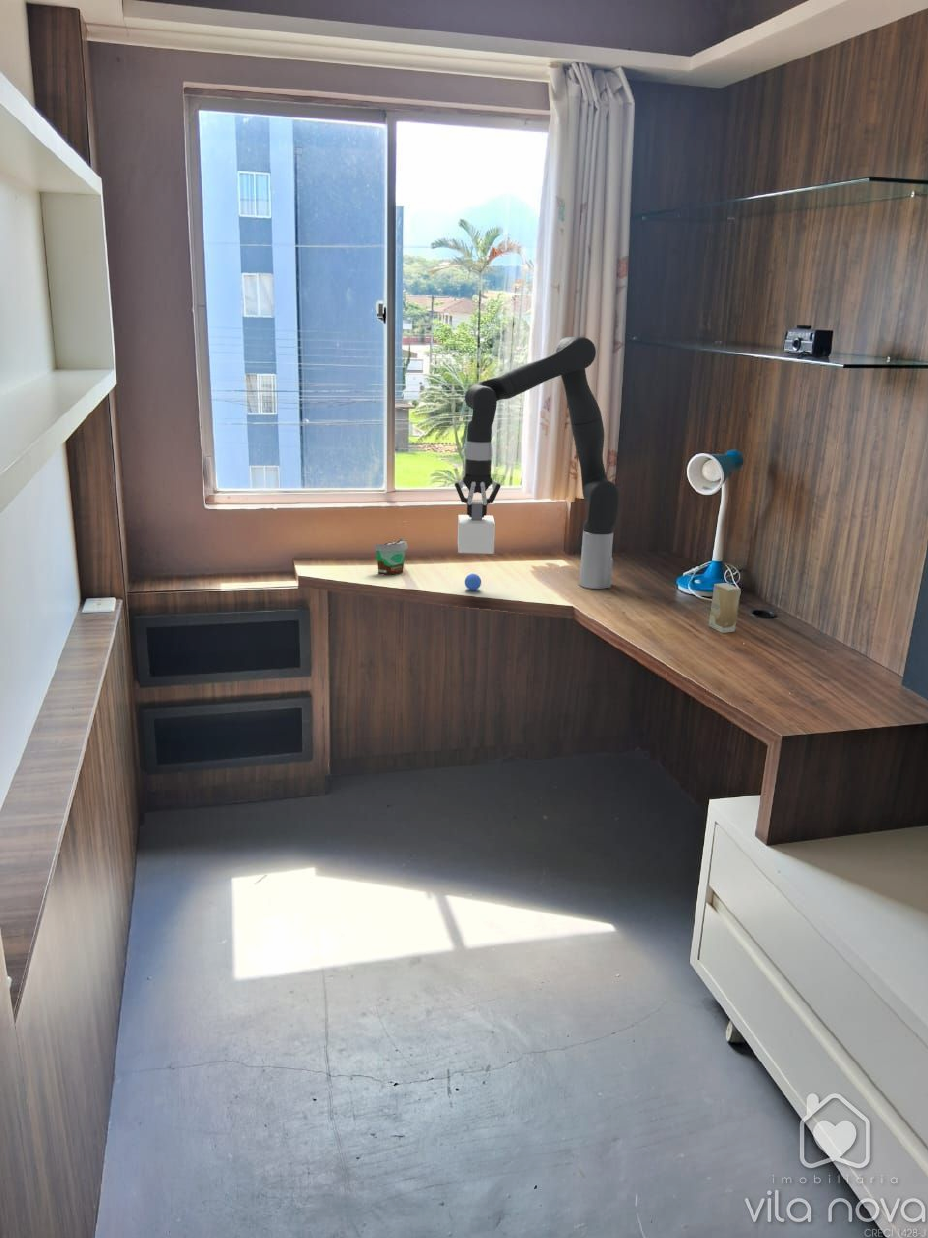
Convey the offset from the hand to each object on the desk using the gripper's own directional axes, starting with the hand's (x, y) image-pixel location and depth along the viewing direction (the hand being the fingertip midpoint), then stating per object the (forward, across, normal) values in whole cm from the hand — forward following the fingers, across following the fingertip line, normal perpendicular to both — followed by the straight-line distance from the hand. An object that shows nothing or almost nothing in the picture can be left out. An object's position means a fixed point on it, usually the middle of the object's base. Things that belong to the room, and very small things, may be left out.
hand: (476, 516), depth 275 cm
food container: (+23, +24, -21) cm, 40 cm away
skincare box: (+23, -66, +30) cm, 76 cm away
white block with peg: (+10, 0, 0) cm, 10 cm away
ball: (+21, 0, -3) cm, 21 cm away
